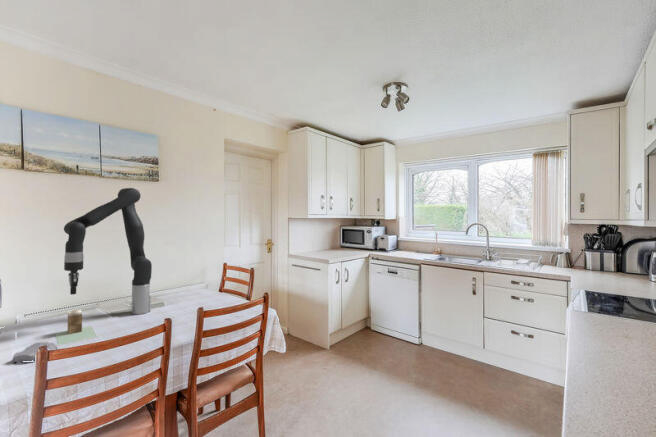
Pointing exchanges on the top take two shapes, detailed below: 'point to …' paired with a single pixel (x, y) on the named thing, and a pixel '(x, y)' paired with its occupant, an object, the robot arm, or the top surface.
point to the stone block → (31, 352)
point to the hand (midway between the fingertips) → (73, 294)
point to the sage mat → (75, 335)
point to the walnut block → (74, 321)
